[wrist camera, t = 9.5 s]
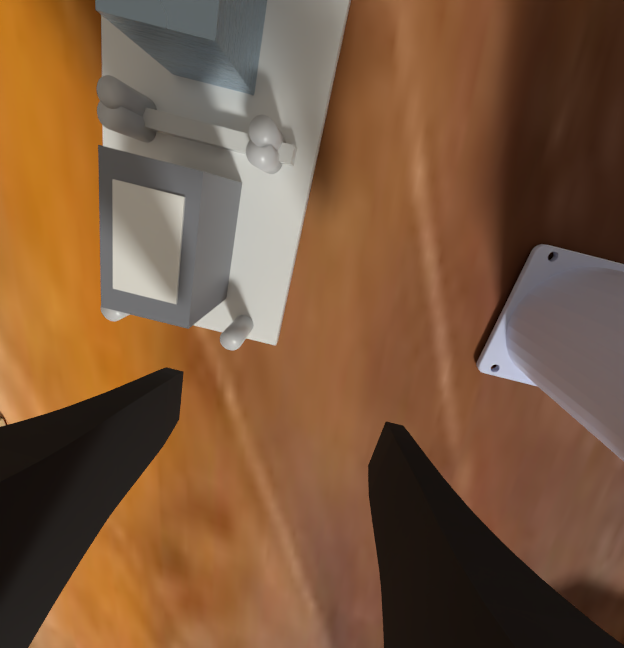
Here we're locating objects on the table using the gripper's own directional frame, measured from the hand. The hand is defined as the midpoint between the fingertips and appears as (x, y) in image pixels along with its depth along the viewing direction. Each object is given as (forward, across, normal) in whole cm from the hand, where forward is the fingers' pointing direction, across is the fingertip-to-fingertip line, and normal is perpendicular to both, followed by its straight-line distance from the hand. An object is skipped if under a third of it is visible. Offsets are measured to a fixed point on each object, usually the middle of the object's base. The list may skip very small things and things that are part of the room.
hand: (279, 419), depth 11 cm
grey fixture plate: (+9, +7, -9) cm, 15 cm away
